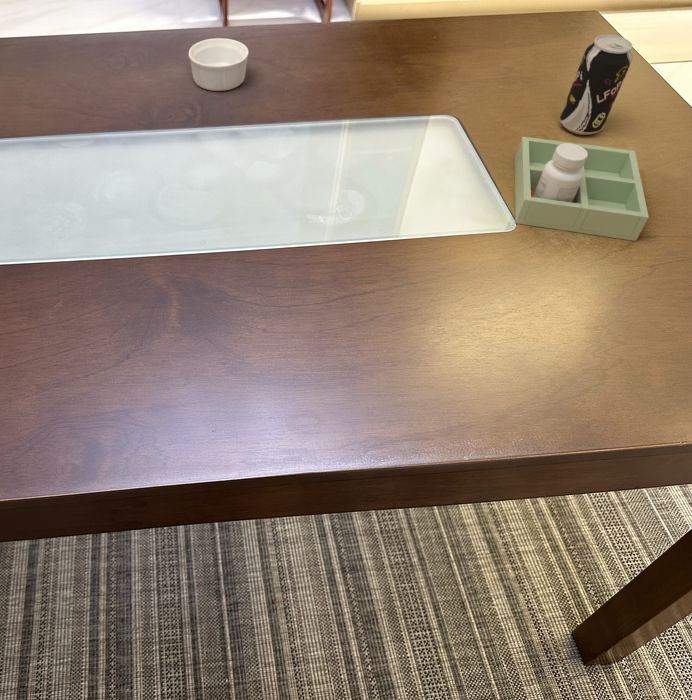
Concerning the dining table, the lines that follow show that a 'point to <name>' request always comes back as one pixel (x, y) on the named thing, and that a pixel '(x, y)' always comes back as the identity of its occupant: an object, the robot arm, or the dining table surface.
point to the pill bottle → (562, 173)
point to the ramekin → (218, 63)
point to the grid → (583, 192)
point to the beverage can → (596, 84)
